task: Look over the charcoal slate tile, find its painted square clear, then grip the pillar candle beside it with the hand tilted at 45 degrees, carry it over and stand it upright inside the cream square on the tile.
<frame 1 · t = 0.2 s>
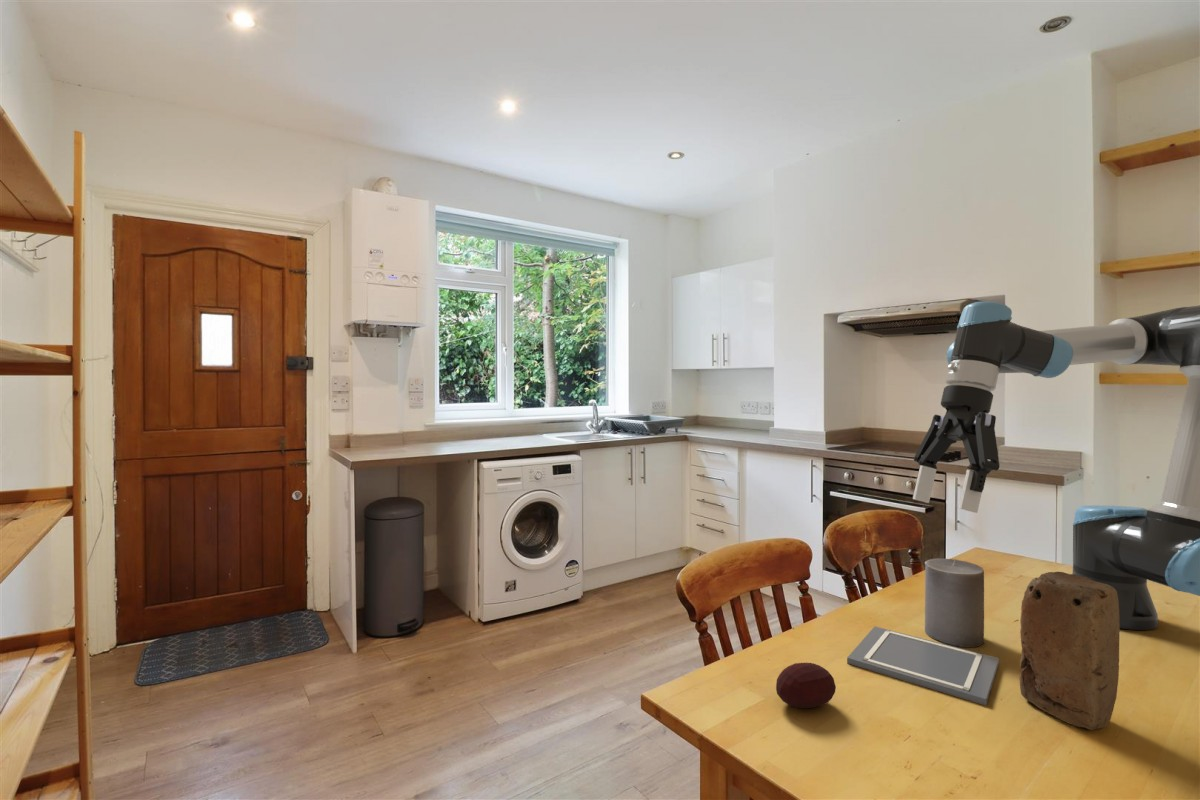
hand: (942, 505, 101), 27 cm above the table, tool tilted 15°, fingers open, 13 cm apart
slate tile: (922, 663, 99), on the table
block: (1063, 713, 85), on the table
potato: (803, 705, 86), on the table
pillar candle: (952, 637, 110), on the table
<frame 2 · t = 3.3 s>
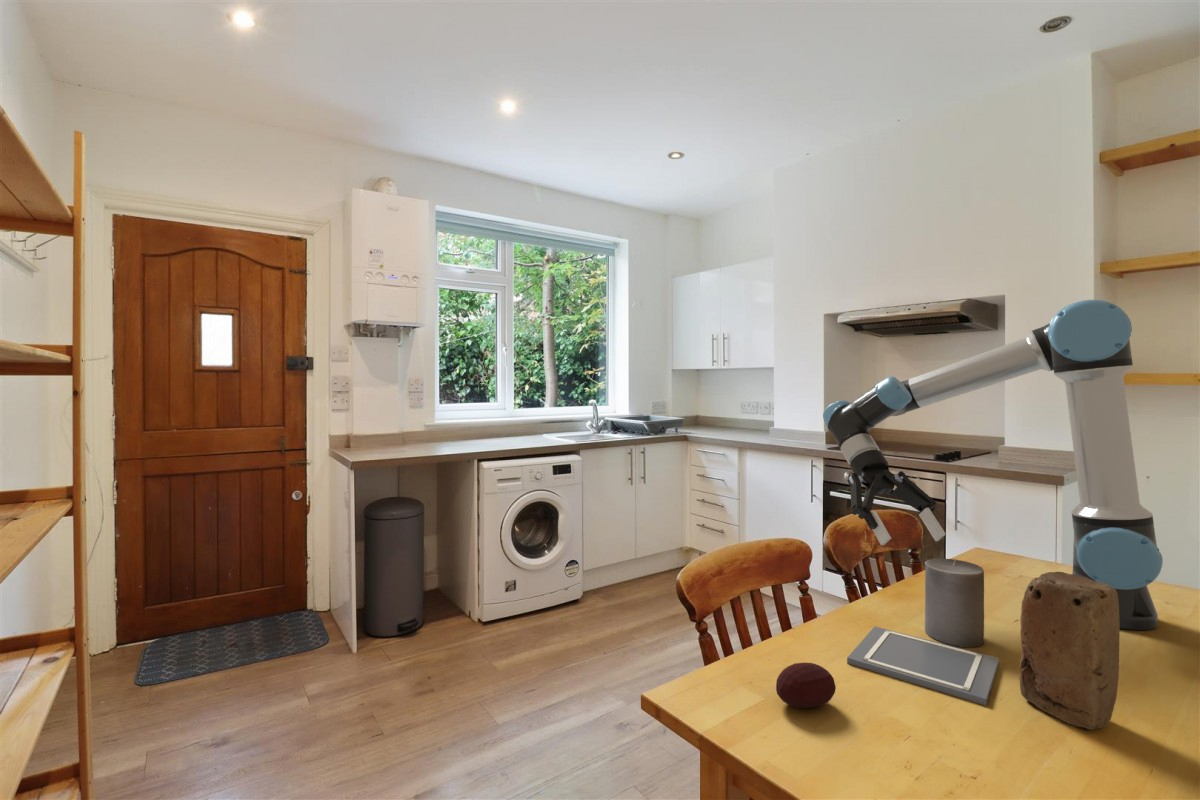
hand: (914, 539, 119), 16 cm above the table, tool tilted 45°, fingers open, 13 cm apart
nothing on the table moved.
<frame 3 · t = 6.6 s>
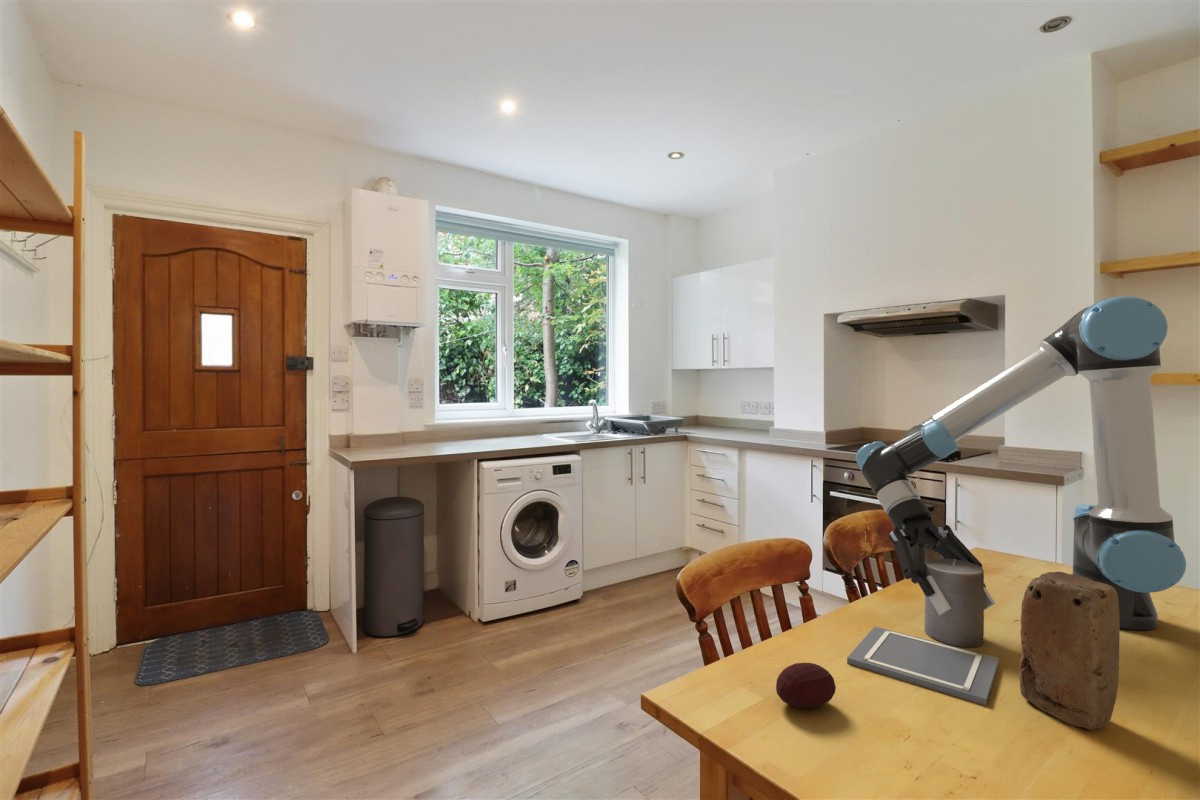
hand: (967, 609, 107), 6 cm above the table, tool tilted 45°, fingers closed on pillar candle, 9 cm apart
pillar candle: (952, 637, 110), on the table, touching gripper
everything else where it was.
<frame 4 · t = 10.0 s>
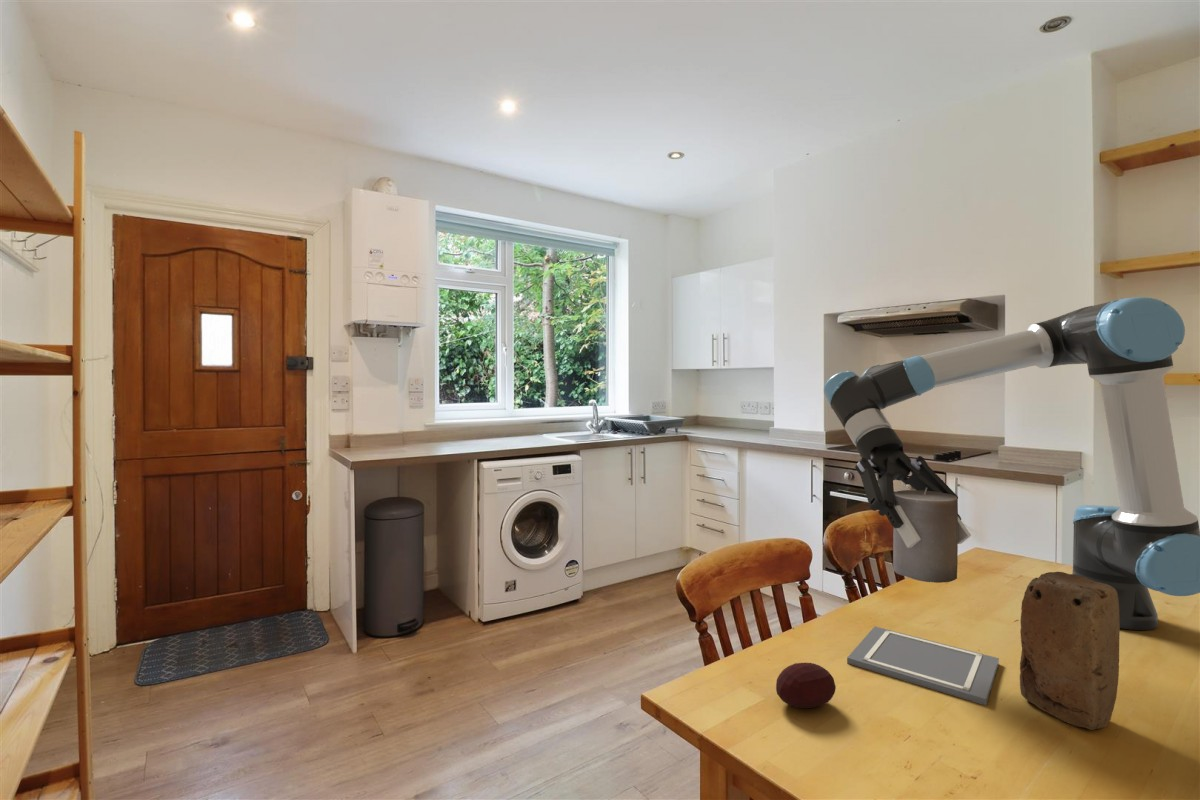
hand: (939, 541, 96), 22 cm above the table, tool tilted 45°, fingers closed on pillar candle, 9 cm apart
pillar candle: (923, 574, 99), point 15 cm above the table, touching gripper
everything else where it was.
when the fingers open (9 cm above the table, at t = 13.6 s): pillar candle drops 1 cm, resting on slate tile.
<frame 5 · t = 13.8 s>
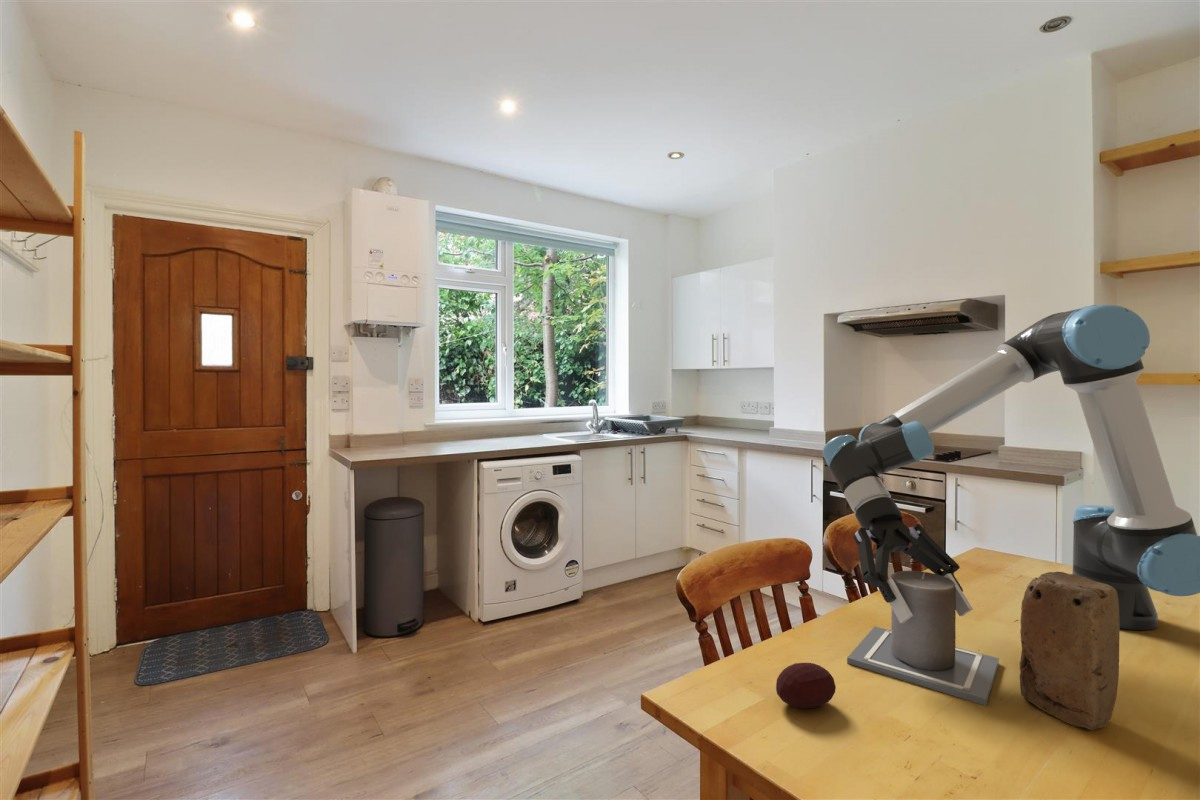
hand: (937, 616, 96), 9 cm above the table, tool tilted 45°, fingers open, 11 cm apart
pillar candle: (921, 658, 99), point 1 cm above the table, touching slate tile
everything else where it was.
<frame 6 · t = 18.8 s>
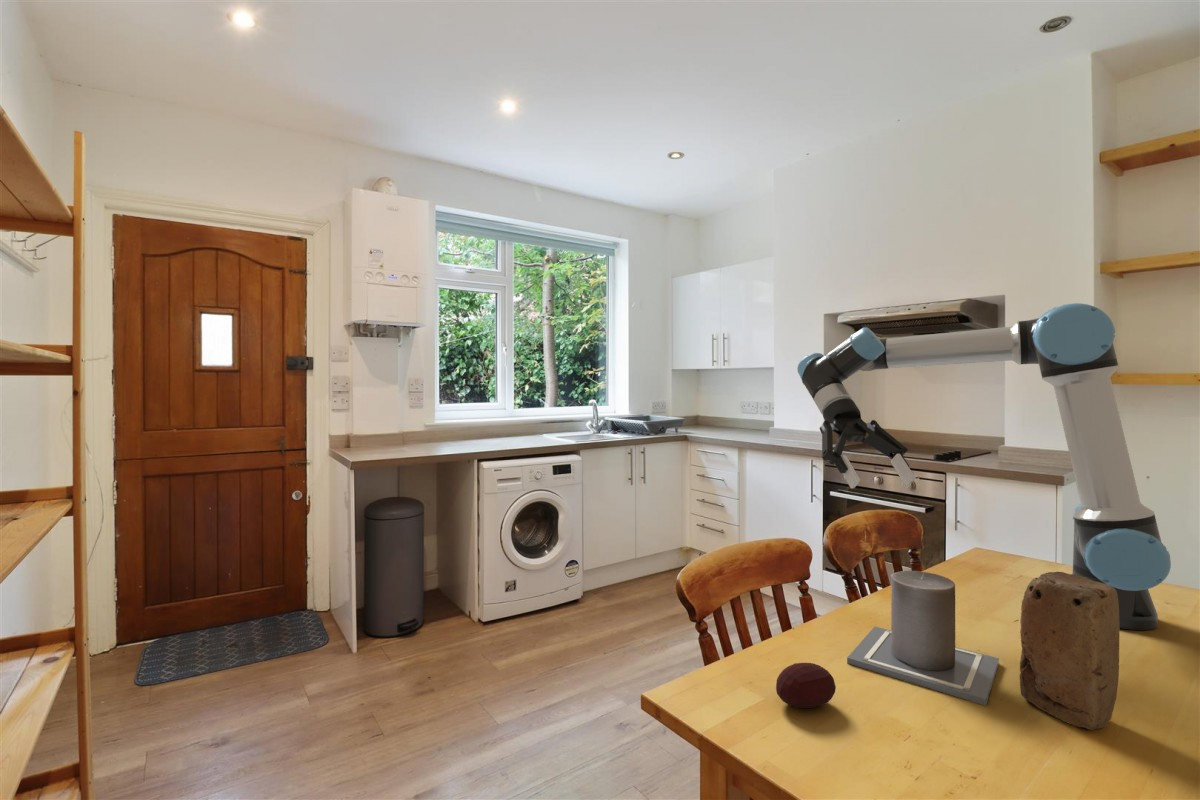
hand: (883, 483, 119), 28 cm above the table, tool tilted 45°, fingers open, 13 cm apart
nothing on the table moved.
at the end: pillar candle inside the target area on the slate tile (0.3 cm from its centre), point 0.8 cm above the slate tile's base; pillar candle tilted 0°; the gripper is holding nothing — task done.
